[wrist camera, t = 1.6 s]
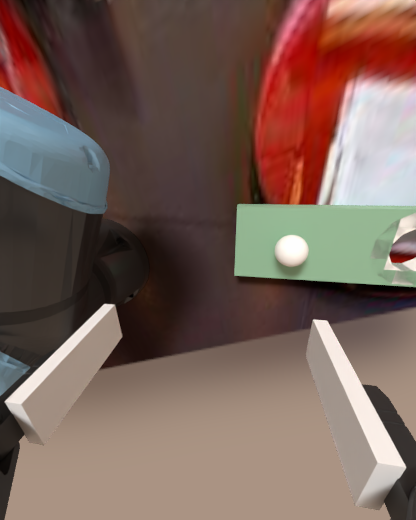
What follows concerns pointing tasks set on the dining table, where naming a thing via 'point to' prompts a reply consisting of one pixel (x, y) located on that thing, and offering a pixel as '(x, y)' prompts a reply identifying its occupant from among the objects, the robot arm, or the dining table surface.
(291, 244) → the ball
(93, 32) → the dining table surface
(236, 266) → the green flat block
